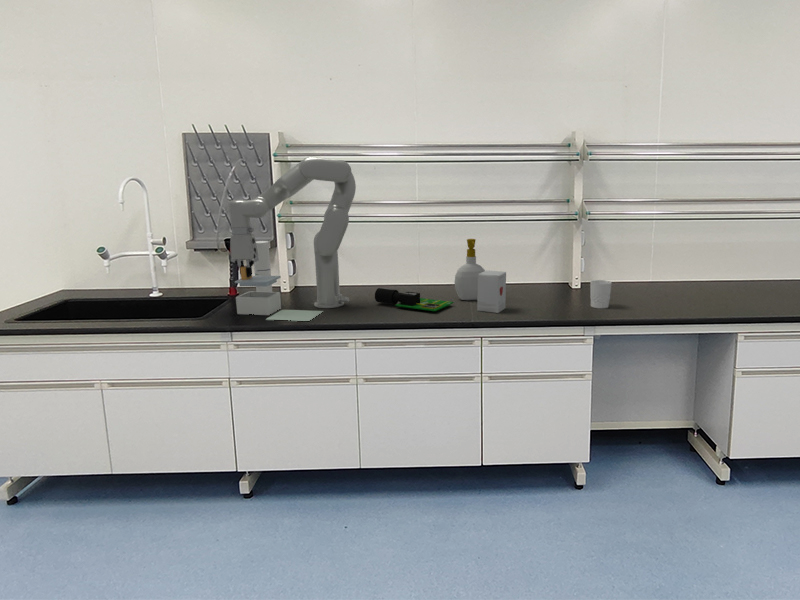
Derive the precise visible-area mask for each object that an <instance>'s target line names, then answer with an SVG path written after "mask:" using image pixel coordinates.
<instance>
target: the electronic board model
mask: <svg viewBox="0 0 800 600" xmlns="http://www.w3.org/2000/svg"><path fill="white" fill-rule="evenodd" d="M374 300H375V302H376V303H382V304H390V305H395V307H398V308H403V310H408V309H409V310H408V311H414V310H416V309H417V310H423V311H431V312H437V311H439V310H441V309H444V308H446V307H448V306H451V305H452V304H454V301H449V300H448V301H447V300H439V299H430V298H424V297H423V298H422V297H421V293H420V292H413V291H405V292H399V290H398V289H392V288H384V287H378V288H377V289H376V290H375V292H374Z"/></svg>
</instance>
